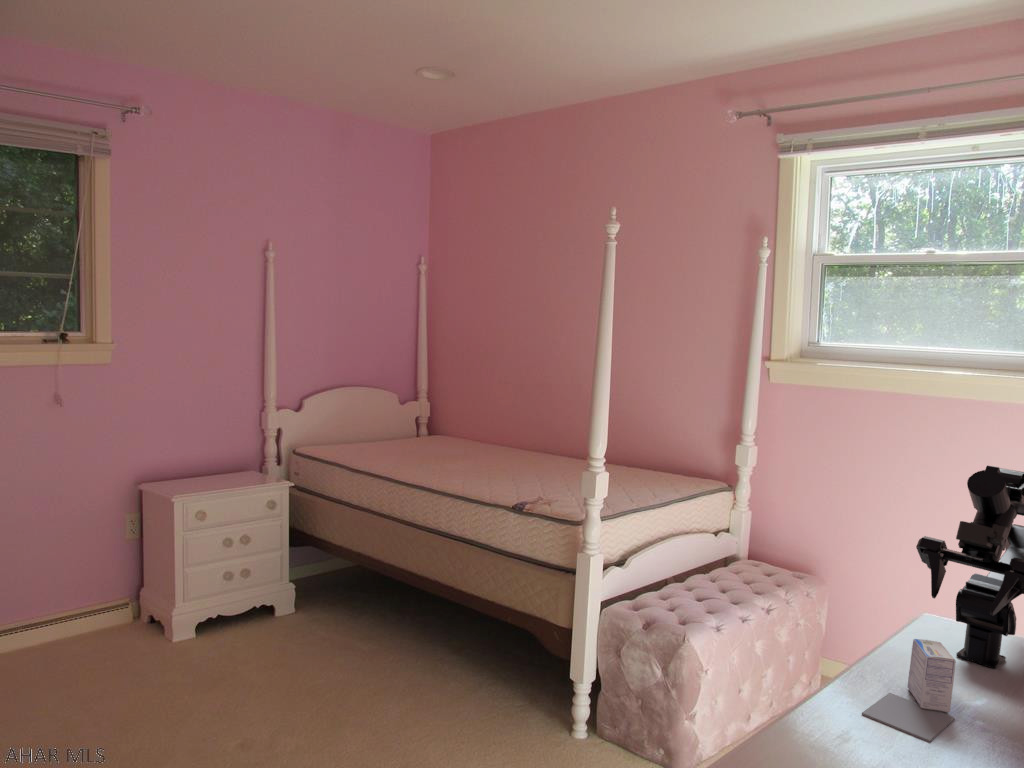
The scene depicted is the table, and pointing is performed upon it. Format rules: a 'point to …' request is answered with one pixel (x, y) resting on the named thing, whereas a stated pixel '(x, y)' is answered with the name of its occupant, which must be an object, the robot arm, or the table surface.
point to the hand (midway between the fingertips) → (961, 605)
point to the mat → (908, 717)
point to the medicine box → (931, 675)
